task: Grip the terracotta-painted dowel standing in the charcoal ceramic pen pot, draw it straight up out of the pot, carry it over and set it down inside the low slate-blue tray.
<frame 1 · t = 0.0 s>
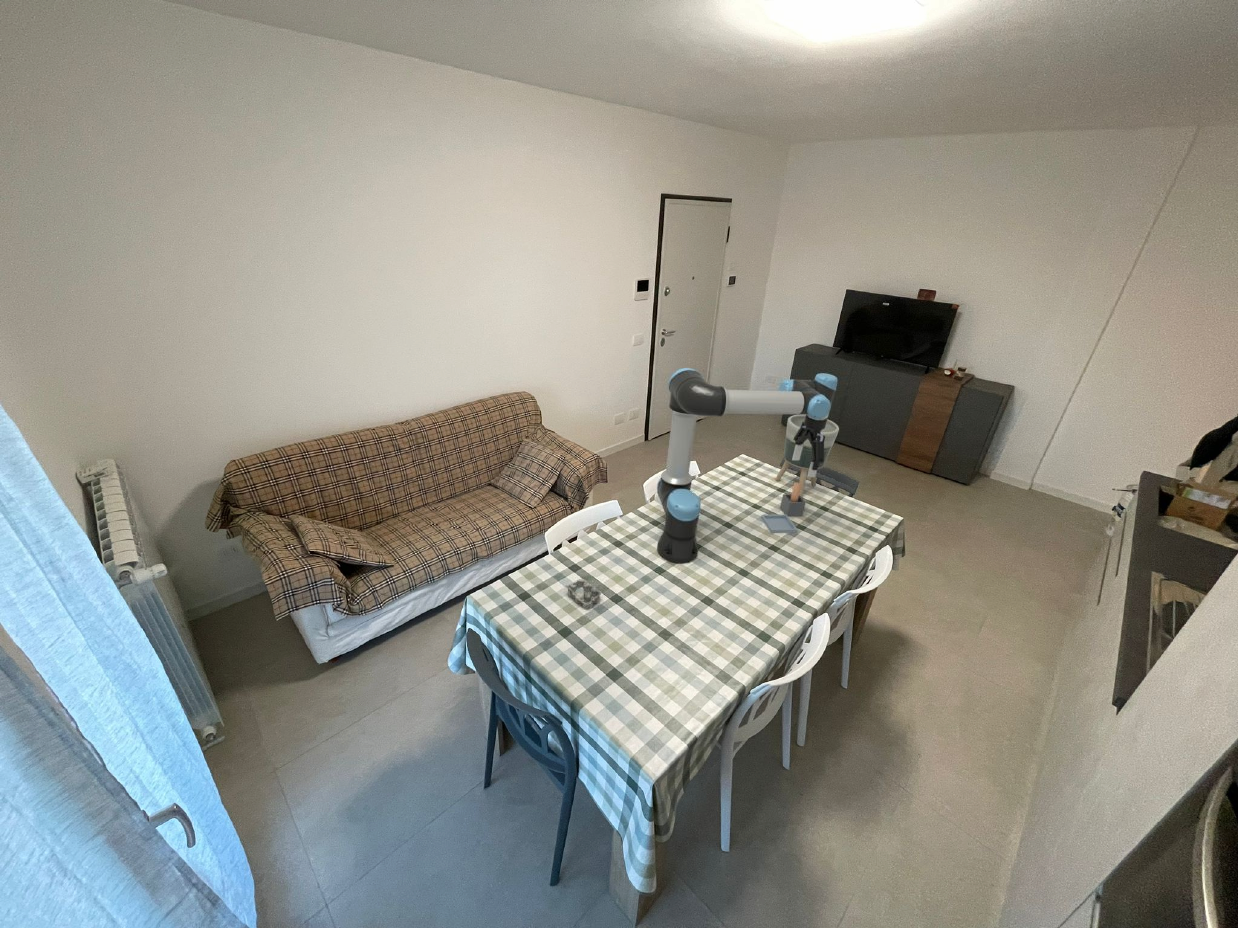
hand: (803, 468, 189), 28 cm above the table, fingers open, 13 cm apart
egg carton: (583, 598, 160), on the table
pen pot: (790, 513, 213), on the table
planter: (796, 488, 234), on the table
tray: (778, 526, 203), on the table
dowel: (790, 512, 213), point 1 cm above the table, touching pen pot
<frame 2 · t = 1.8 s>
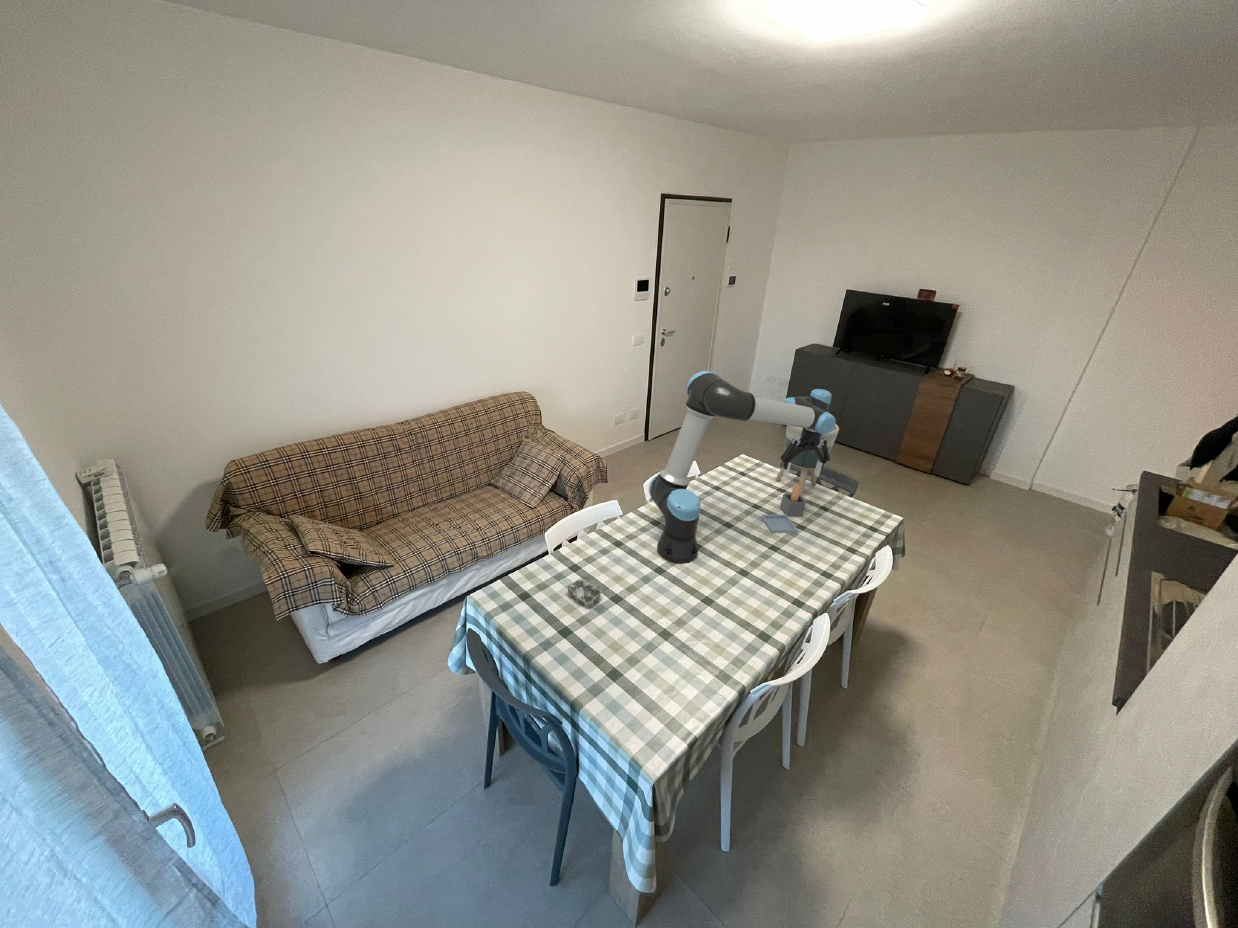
hand: (800, 475, 205), 18 cm above the table, fingers open, 13 cm apart
nothing on the table moved.
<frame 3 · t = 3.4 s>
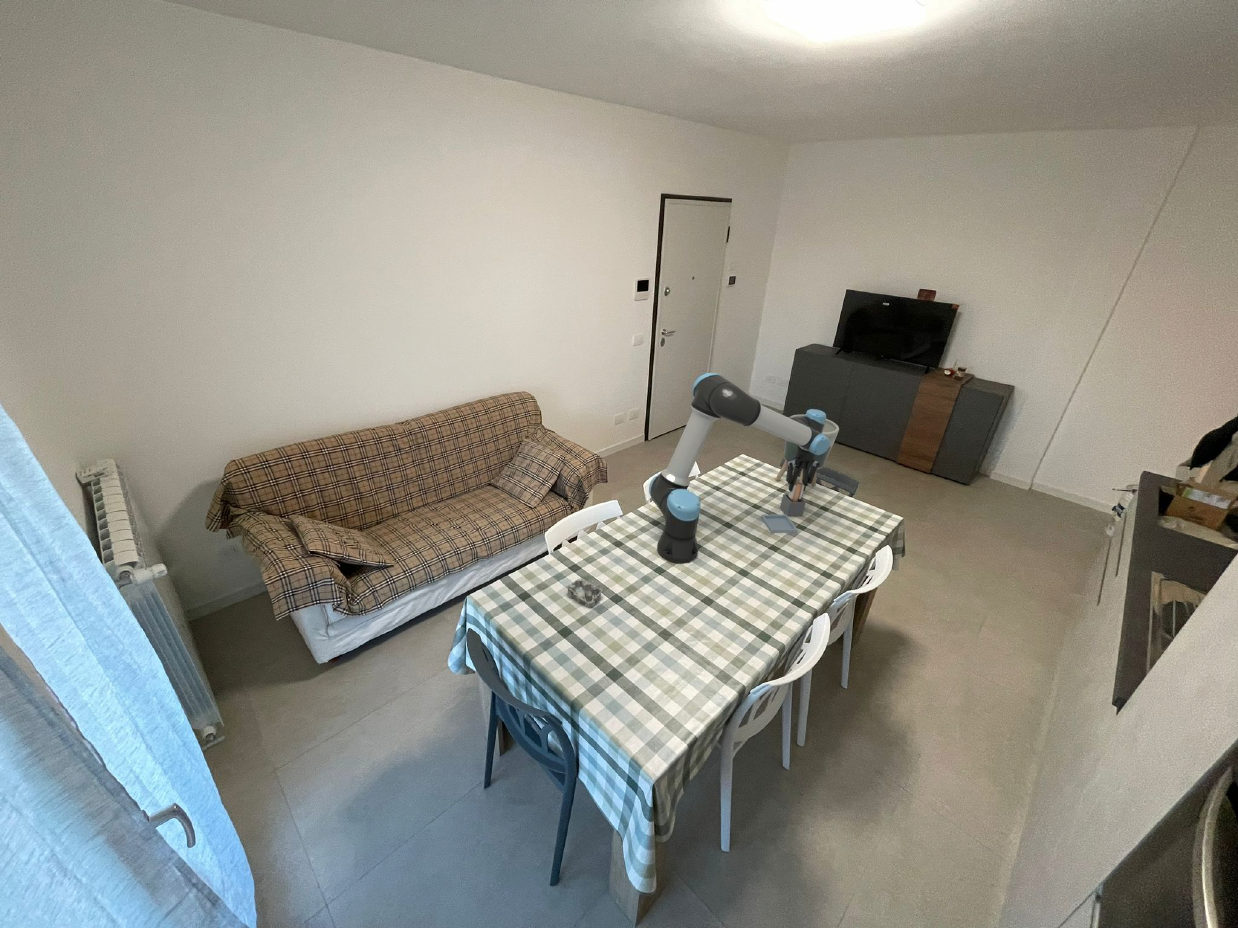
hand: (794, 497, 209), 8 cm above the table, fingers closed on dowel, 3 cm apart
dowel: (790, 512, 213), point 1 cm above the table, touching gripper, pen pot
everything else where it was.
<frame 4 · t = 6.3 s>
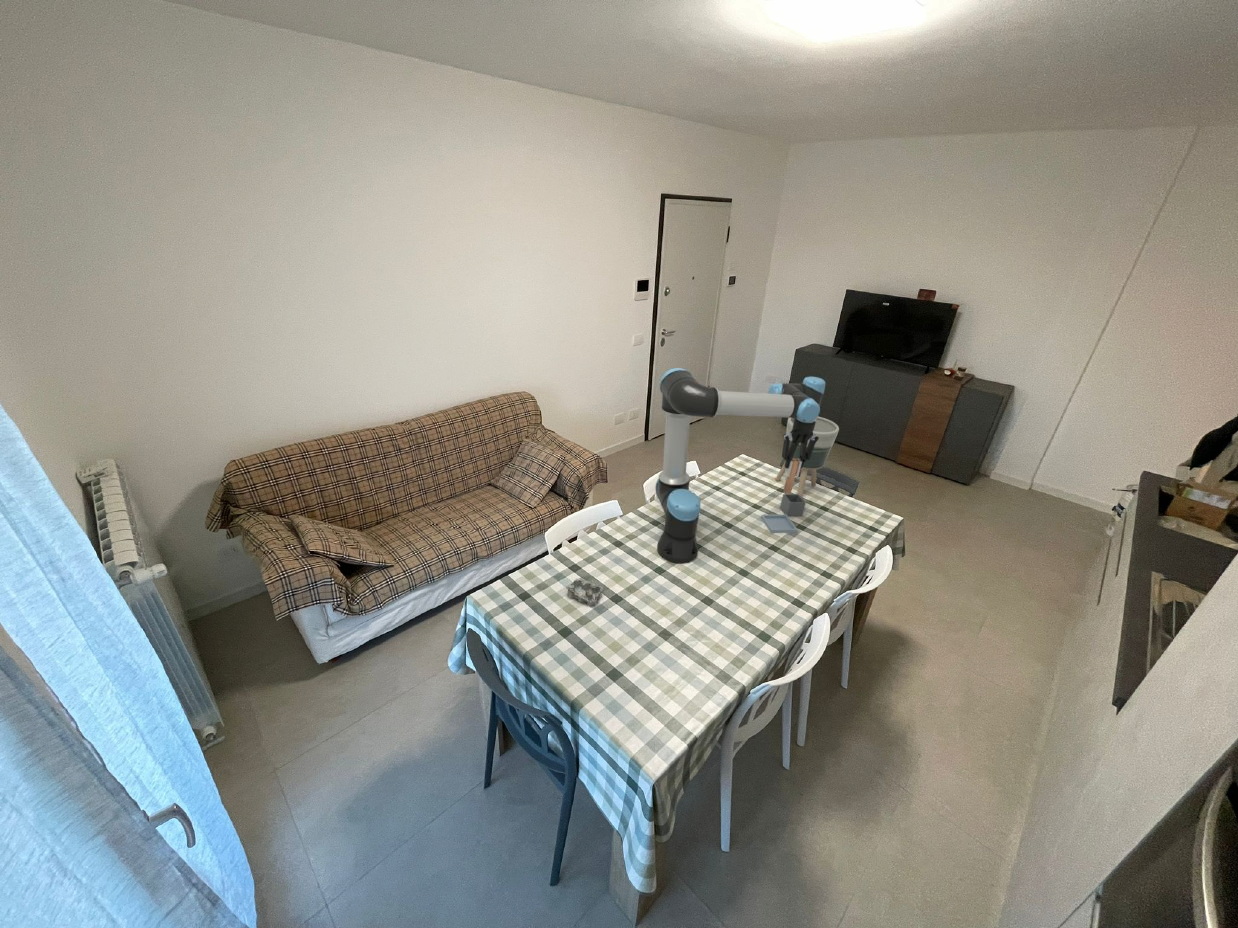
hand: (791, 475, 192), 24 cm above the table, fingers closed on dowel, 3 cm apart
dowel: (787, 491, 196), point 17 cm above the table, touching gripper
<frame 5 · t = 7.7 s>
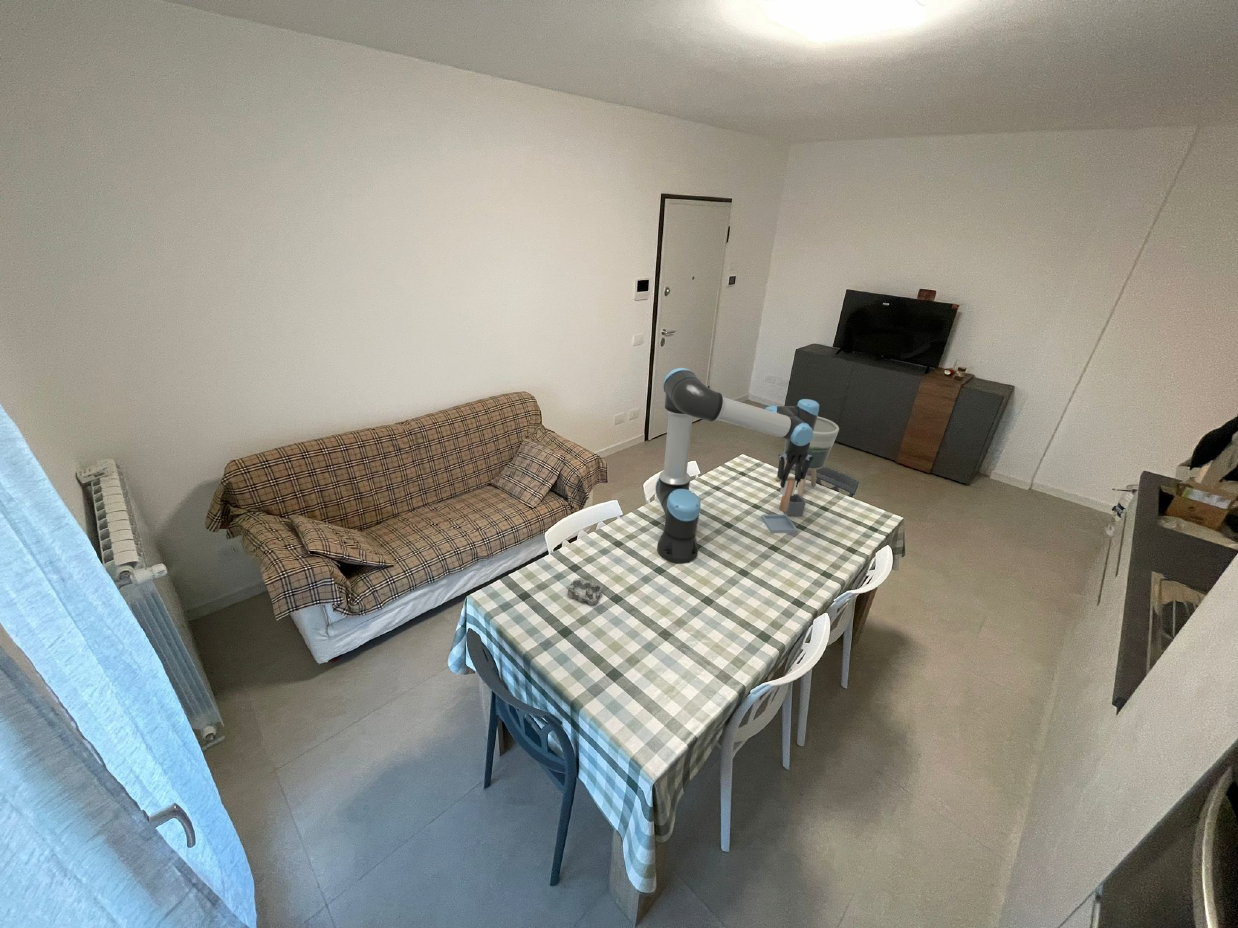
hand: (786, 493, 196), 16 cm above the table, fingers closed on dowel, 3 cm apart
dowel: (782, 509, 200), point 8 cm above the table, touching gripper
when the fingers open (9 cm above the table, at t = 9.1 s): dowel drops 2 cm, resting on tray.
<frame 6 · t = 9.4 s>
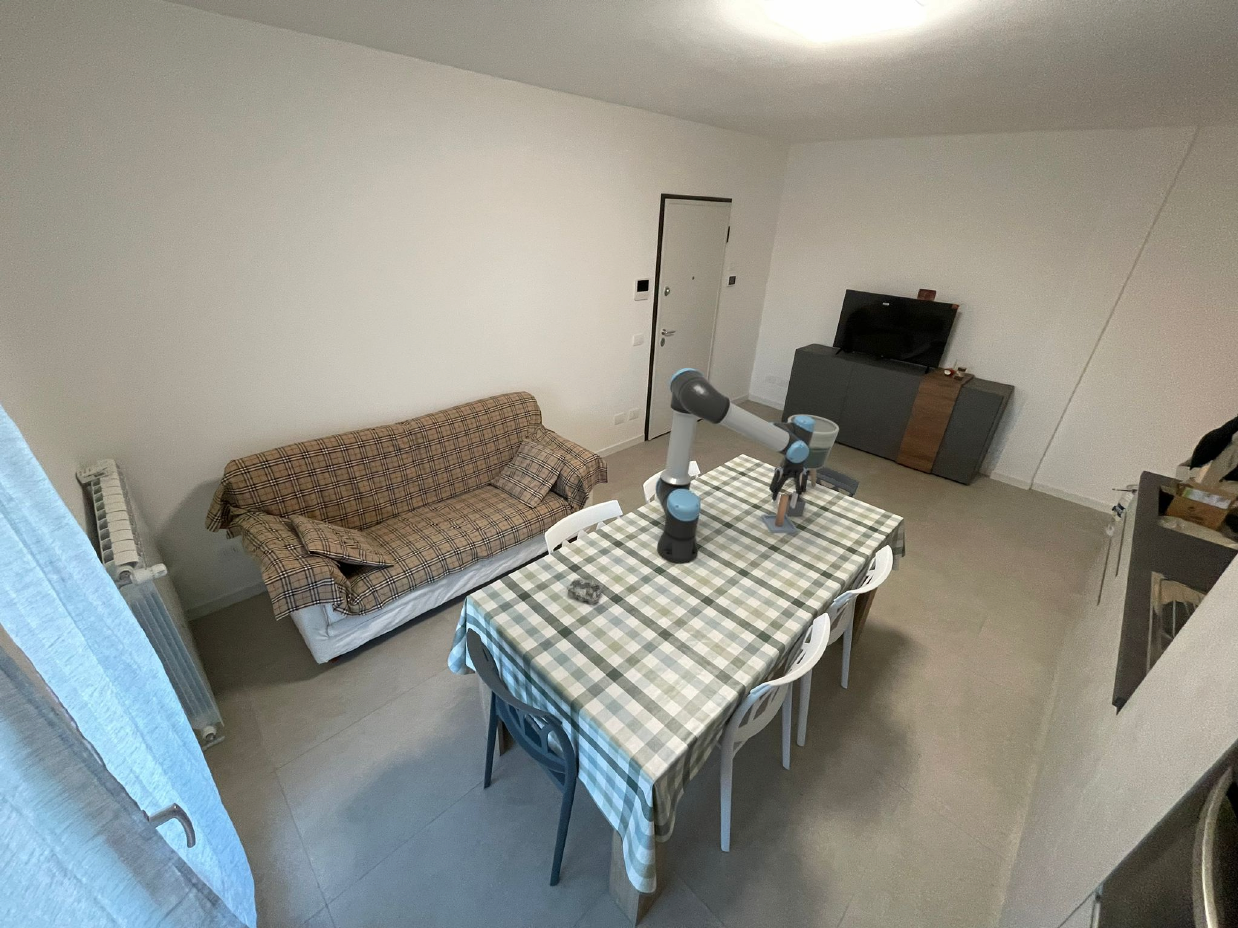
hand: (783, 506, 199), 10 cm above the table, fingers open, 7 cm apart
dowel: (778, 524, 203), point 1 cm above the table, touching tray
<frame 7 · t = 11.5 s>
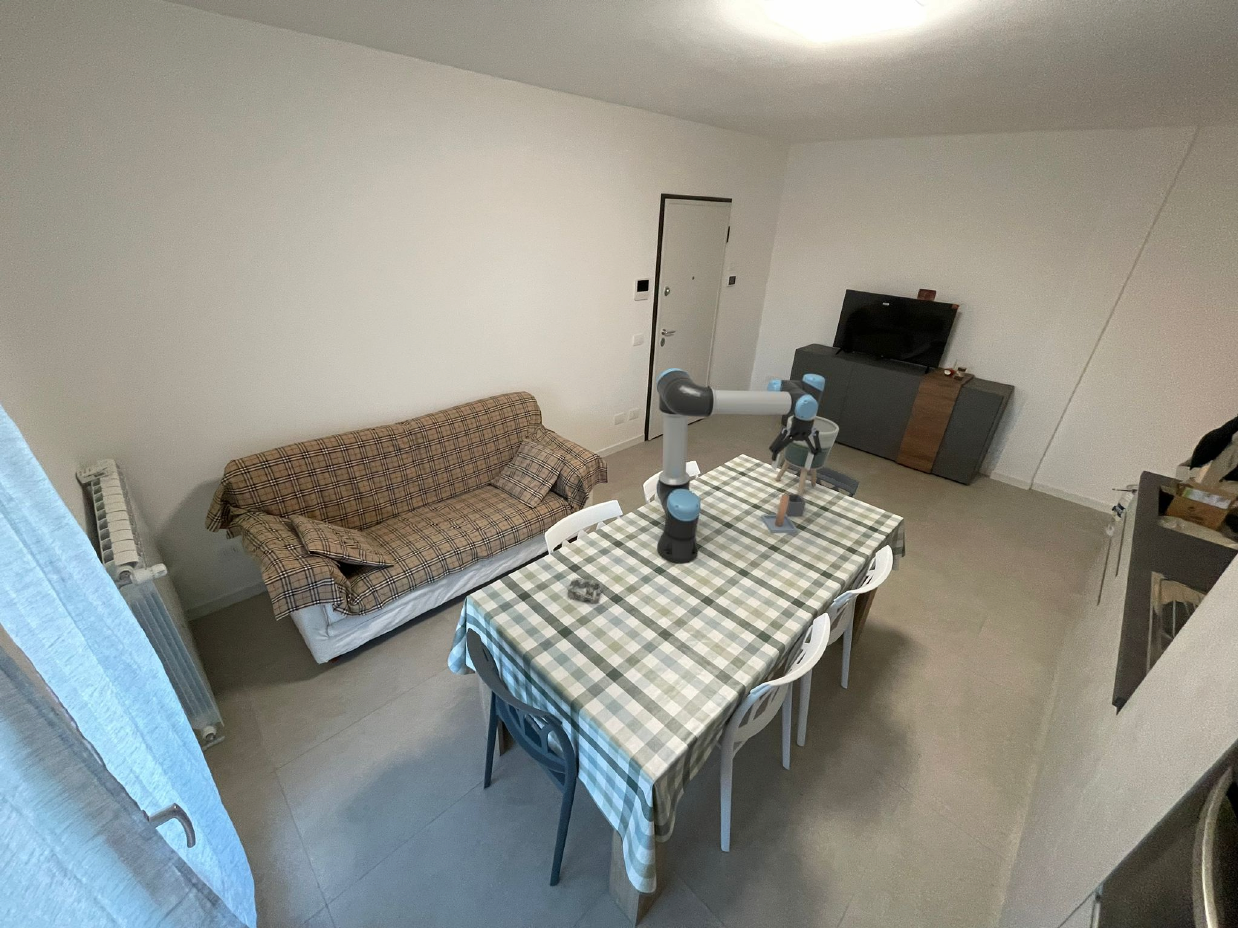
hand: (790, 468, 190), 28 cm above the table, fingers open, 13 cm apart
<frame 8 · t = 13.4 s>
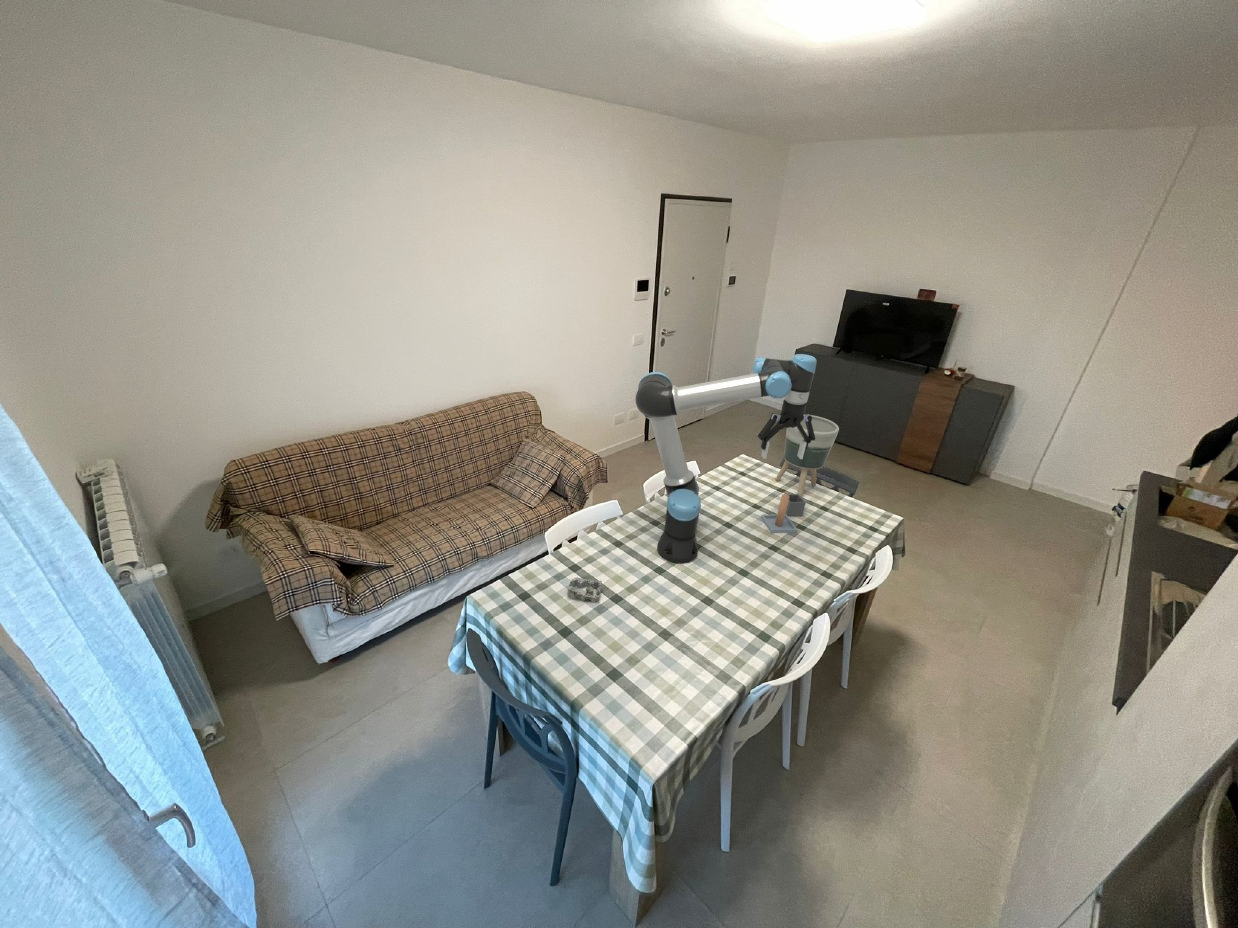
hand: (781, 457, 176), 37 cm above the table, fingers open, 13 cm apart
at the end: dowel inside the target area on the tray (0.0 cm from its centre), point 0.6 cm above the tray's base; the gripper is holding nothing; dowel touching tray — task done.
